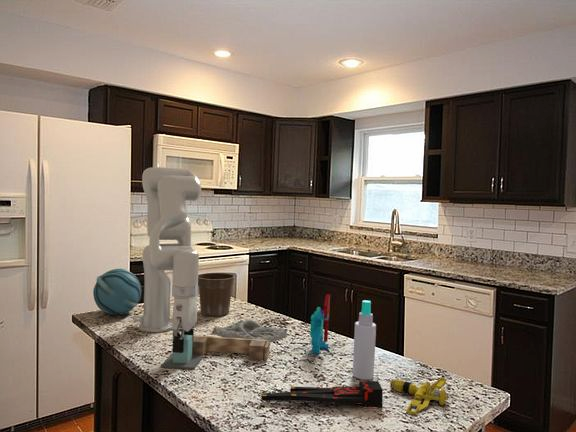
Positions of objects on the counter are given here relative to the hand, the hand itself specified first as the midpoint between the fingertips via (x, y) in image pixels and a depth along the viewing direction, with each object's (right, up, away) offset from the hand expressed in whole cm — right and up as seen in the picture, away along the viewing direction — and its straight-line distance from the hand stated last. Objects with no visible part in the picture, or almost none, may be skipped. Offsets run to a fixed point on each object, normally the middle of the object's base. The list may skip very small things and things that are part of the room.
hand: (183, 346), depth 135 cm
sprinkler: (+65, -9, -18) cm, 68 cm away
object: (0, -2, +56) cm, 56 cm away
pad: (0, -5, 0) cm, 5 cm away
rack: (+12, -5, +7) cm, 15 cm away
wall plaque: (+18, -5, +30) cm, 35 cm away
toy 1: (-38, -1, +48) cm, 61 cm away
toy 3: (+40, -8, -22) cm, 46 cm away
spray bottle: (+54, -7, -5) cm, 54 cm away
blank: (0, -4, 0) cm, 4 cm away
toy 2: (+42, -6, +15) cm, 45 cm away
